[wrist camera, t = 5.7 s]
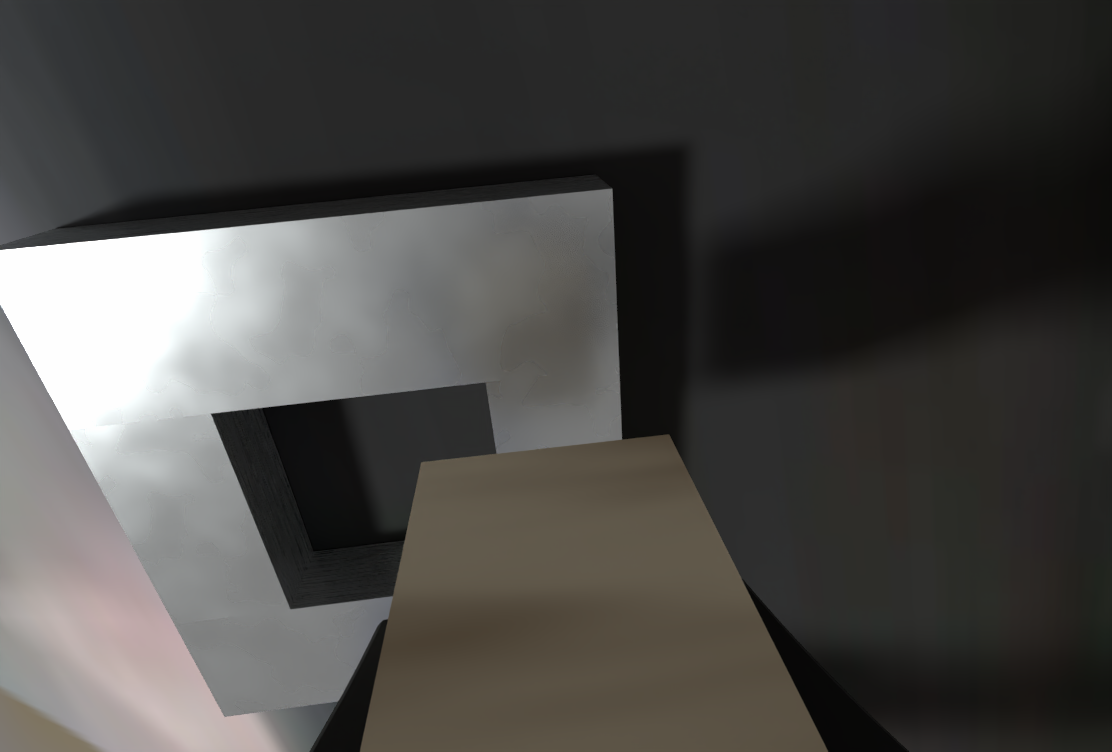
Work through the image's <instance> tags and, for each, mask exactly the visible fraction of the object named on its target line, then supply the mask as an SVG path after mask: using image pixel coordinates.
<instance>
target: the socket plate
mask: <svg viewBox="0 0 1112 752" xmlns="http://www.w3.org/2000/svg"><path fill="white" fill-rule="evenodd" d="M0 303H1V305H2V307H3V309H4V311H5V312H6V314H7V316H8V318H9V320H10V322H11V323H12V325H13V327H14V329H15V331H16V333H17V335H18V336H19V338H20V340H21V342H22V344H23V346H24V347H25V349H26V351H27V353H28V355H29V357H30V359H31V360H32V362H33V364H34V366H35V368H36V370H37V371H38V373H39V375H40V377H41V379H42V381H43V383H44V384H45V386H46V388H47V390H48V392H49V394H50V395H51V397H52V399H53V401H54V403H55V405H56V407H57V408H58V410H59V412H60V414H61V416H62V418H63V419H64V421H65V423H66V425H67V427H68V429H69V431H70V432H71V434H72V436H73V438H74V440H75V442H76V443H77V445H78V447H79V449H80V451H81V453H82V455H83V456H84V458H85V460H86V462H87V464H88V466H89V467H90V469H91V471H92V473H93V475H94V477H95V479H96V480H97V482H98V484H99V486H100V488H101V490H102V491H103V493H104V495H105V497H106V499H107V501H108V503H109V504H110V506H111V508H112V510H113V512H114V514H115V515H116V517H117V519H118V521H119V523H120V525H121V527H122V528H123V530H124V532H125V534H126V536H127V538H128V539H129V541H130V543H131V545H132V547H133V549H134V550H135V552H136V554H137V556H138V558H139V560H140V562H141V563H142V565H143V567H144V569H145V571H146V573H147V574H148V576H149V578H150V580H151V582H152V584H153V586H154V587H155V589H156V591H157V593H158V595H159V597H160V598H161V600H162V602H163V604H164V606H165V608H166V610H167V611H168V613H169V615H170V617H171V619H172V621H173V622H174V624H175V626H176V628H177V630H178V632H179V634H180V635H181V637H182V639H183V641H184V643H185V645H186V646H187V648H188V650H189V652H190V654H191V656H192V658H193V659H194V661H195V663H196V665H197V667H198V669H199V670H200V672H201V674H202V676H203V678H204V680H205V682H206V683H207V685H208V687H209V689H210V691H211V693H212V694H213V696H214V698H215V700H216V702H217V704H218V706H219V707H220V709H221V711H222V713H223V715H224V717H227V716H234V715H241V714H249V713H256V712H263V711H271V710H278V709H285V708H293V707H300V706H308V705H315V704H322V703H330V702H337V701H339V699H340V697H341V696H342V694H343V692H344V690H345V688H346V686H347V685H348V683H349V681H350V679H351V677H352V675H353V673H354V672H355V670H356V668H357V666H358V664H359V662H360V660H361V658H362V656H363V654H364V652H365V650H366V648H367V646H368V644H369V642H370V640H371V638H372V636H373V634H374V632H375V630H376V628H377V626H378V625H379V624H380V623H381V622H382V621H383V620H386V619H388V617H389V612H390V608H391V603H392V598H393V594H394V589H395V584H396V580H397V575H398V570H399V565H400V561H401V556H402V551H403V547H404V542H405V540H403V541H395V542H387V543H379V544H371V545H363V546H355V547H347V548H339V549H331V550H323V551H315V552H314V551H313V548H312V545H311V543H310V540H309V537H308V534H307V532H306V529H305V526H304V523H303V520H302V518H301V515H300V512H299V509H298V506H297V504H296V501H295V498H294V495H293V493H292V490H291V487H290V484H289V481H288V479H287V476H286V473H285V470H284V467H283V465H282V462H281V459H280V456H279V454H278V451H277V448H276V445H275V442H274V440H273V437H272V434H271V431H270V428H269V426H268V423H267V420H266V417H265V415H264V412H263V409H262V408H265V407H273V406H282V405H291V404H299V403H308V402H317V401H326V400H334V399H343V398H352V397H361V396H369V395H378V394H387V393H396V392H404V391H413V390H422V389H431V388H439V387H448V386H457V385H466V384H474V383H483V382H486V387H487V394H488V400H489V407H490V413H491V419H492V426H493V432H494V439H495V445H496V452H497V454H500V453H509V452H518V451H526V450H535V449H544V448H553V447H562V446H571V445H579V444H588V443H597V442H606V441H615V440H622V425H621V399H620V373H619V347H618V321H617V295H616V270H615V244H614V218H613V192H612V188H611V187H610V186H609V185H608V184H606V183H605V182H604V181H603V180H602V179H601V178H599V177H598V176H597V175H586V176H576V177H566V178H556V179H546V180H536V181H526V182H516V183H506V184H496V185H486V186H477V187H467V188H457V189H447V190H437V191H427V192H417V193H407V194H397V195H387V196H377V197H367V198H357V199H347V200H337V201H327V202H317V203H307V204H297V205H287V206H277V207H267V208H258V209H248V210H238V211H228V212H218V213H208V214H198V215H188V216H178V217H168V218H158V219H148V220H138V221H128V222H118V223H108V224H98V225H88V226H78V227H68V228H58V229H52V230H48V231H45V232H42V233H39V234H35V235H32V236H29V237H26V238H22V239H19V240H16V241H13V242H9V243H6V244H3V245H0Z"/></svg>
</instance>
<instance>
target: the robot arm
mask: <svg viewBox="0 0 1112 752" xmlns="http://www.w3.org/2000/svg"><path fill="white" fill-rule="evenodd" d="M741 579H742V578H741ZM742 581H743V583H744V585H745V587H746V589H747V591H748V593H749V595H750V597H751V599H752V601H753V603H754V605H755V607H756V609H757V611H758V613H759V615H760V617H761V619H762V621H763V623H764V625H765V627H766V629H767V631H768V633H769V635H770V637H771V639H772V641H773V643H774V645H775V647H776V649H777V651H778V653H779V655H780V657H781V659H782V661H783V663H784V665H785V667H786V669H787V671H788V673H789V675H790V677H791V679H792V681H793V683H794V685H795V687H796V689H797V691H798V693H799V694H800V696H801V698H802V700H803V702H804V704H805V706H806V708H807V710H808V712H809V714H810V716H811V718H812V720H813V722H814V724H815V726H816V728H817V730H818V732H819V734H820V736H821V738H822V740H823V742H824V744H825V746H826V748H827V750H828V752H909V751H908V750H907V749H906V748H905V747H904V746H903V745H901V744H900V743H899V742H898V741H897V740H896V739H895V738H894V737H893V736H892V735H891V734H890V733H889V732H888V731H886V730H885V729H884V728H883V727H882V726H881V725H880V724H879V723H878V722H877V721H876V720H875V719H874V718H873V717H872V716H871V715H870V714H869V713H868V712H867V711H866V710H865V709H864V708H863V707H861V706H860V705H859V704H858V703H857V702H856V701H855V700H854V699H853V698H852V697H851V696H850V695H849V694H848V693H847V692H846V691H845V690H844V688H843V687H842V686H841V685H840V684H839V683H838V682H837V681H836V680H835V679H834V678H833V677H832V676H831V675H830V674H829V673H828V672H827V671H826V670H825V669H824V668H823V667H822V666H821V665H820V664H819V663H818V662H817V661H816V660H815V659H814V658H813V657H812V656H811V655H810V654H809V653H808V652H807V650H806V649H805V648H804V647H803V646H802V645H801V644H800V643H799V642H798V641H797V640H796V639H795V638H794V636H793V635H792V634H791V633H790V632H789V631H788V630H787V629H786V628H785V627H784V626H783V625H782V623H781V622H780V621H779V620H778V619H777V618H776V617H775V616H774V614H773V613H772V612H771V611H770V610H769V609H768V608H767V607H766V605H765V604H764V603H763V602H762V601H761V600H760V599H759V597H758V596H757V595H756V594H755V593H754V592H753V591H752V589H751V588H750V587H749V586H748V585H747V584H746V582H745V581H744V580H743V579H742ZM387 622H388V619H386V620H383V621H382V622H381V623H380V624H379V625H378V626H377V628H376V630H375V632H374V634H373V636H372V638H371V640H370V642H369V644H368V646H367V648H366V650H365V652H364V654H363V656H362V658H361V660H360V662H359V664H358V666H357V668H356V670H355V672H354V673H353V675H352V677H351V679H350V681H349V683H348V685H347V686H346V688H345V690H344V692H343V694H342V696H341V697H340V699H339V701H338V703H337V705H336V707H335V708H334V710H333V712H332V714H331V715H330V717H329V719H328V721H327V722H326V724H325V726H324V728H323V729H322V731H321V733H320V734H319V736H318V738H317V740H316V741H315V743H314V745H313V747H312V748H311V750H310V752H360V749H361V744H362V739H363V734H364V730H365V725H366V720H367V716H368V711H369V706H370V702H371V697H372V692H373V688H374V683H375V678H376V673H377V669H378V664H379V659H380V655H381V650H382V645H383V641H384V636H385V631H386V627H387Z"/></svg>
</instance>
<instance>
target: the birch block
mask: <svg viewBox="0 0 1112 752" xmlns="http://www.w3.org/2000/svg"><path fill="white" fill-rule="evenodd" d="M360 752H828V750H827V748H826V746H825V744H824V742H823V740H822V738H821V736H820V734H819V732H818V730H817V728H816V726H815V724H814V722H813V720H812V718H811V716H810V714H809V712H808V710H807V708H806V706H805V704H804V702H803V700H802V698H801V696H800V694H799V693H798V691H797V689H796V687H795V685H794V683H793V681H792V679H791V677H790V675H789V673H788V671H787V669H786V667H785V665H784V663H783V661H782V659H781V657H780V655H779V653H778V651H777V649H776V647H775V645H774V643H773V641H772V639H771V637H770V635H769V633H768V631H767V629H766V627H765V625H764V623H763V621H762V619H761V617H760V615H759V613H758V611H757V609H756V607H755V605H754V603H753V601H752V599H751V597H750V595H749V593H748V591H747V589H746V587H745V585H744V583H743V581H742V579H741V577H740V575H739V573H738V571H737V569H736V567H735V565H734V563H733V561H732V559H731V557H730V555H729V553H728V551H727V549H726V547H725V545H724V543H723V541H722V539H721V537H720V535H719V533H718V531H717V529H716V527H715V525H714V523H713V521H712V519H711V517H710V515H709V513H708V511H707V509H706V507H705V505H704V503H703V501H702V499H701V497H700V495H699V493H698V491H697V489H696V487H695V485H694V483H693V481H692V479H691V477H690V475H689V473H688V471H687V469H686V467H685V465H684V463H683V461H682V459H681V457H680V455H679V453H678V451H677V449H676V447H675V445H674V443H673V441H672V439H671V437H670V435H669V434H668V435H659V436H650V437H641V438H632V439H624V440H615V441H606V442H597V443H588V444H579V445H571V446H562V447H553V448H544V449H535V450H526V451H518V452H509V453H500V454H491V455H482V456H473V457H465V458H456V459H447V460H438V461H429V462H421V467H420V472H419V476H418V481H417V486H416V490H415V495H414V500H413V504H412V509H411V514H410V519H409V523H408V528H407V533H406V537H405V542H404V547H403V551H402V556H401V561H400V565H399V570H398V575H397V580H396V584H395V589H394V594H393V598H392V603H391V608H390V612H389V617H388V622H387V627H386V631H385V636H384V641H383V645H382V650H381V655H380V659H379V664H378V669H377V673H376V678H375V683H374V688H373V692H372V697H371V702H370V706H369V711H368V716H367V720H366V725H365V730H364V734H363V739H362V744H361V749H360Z"/></svg>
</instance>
